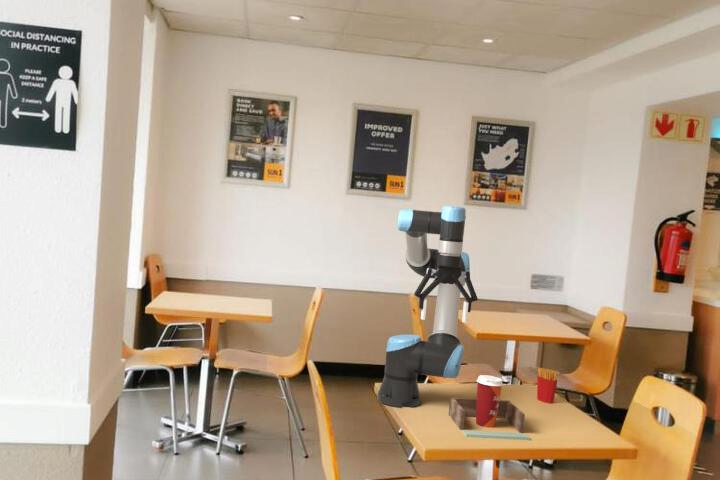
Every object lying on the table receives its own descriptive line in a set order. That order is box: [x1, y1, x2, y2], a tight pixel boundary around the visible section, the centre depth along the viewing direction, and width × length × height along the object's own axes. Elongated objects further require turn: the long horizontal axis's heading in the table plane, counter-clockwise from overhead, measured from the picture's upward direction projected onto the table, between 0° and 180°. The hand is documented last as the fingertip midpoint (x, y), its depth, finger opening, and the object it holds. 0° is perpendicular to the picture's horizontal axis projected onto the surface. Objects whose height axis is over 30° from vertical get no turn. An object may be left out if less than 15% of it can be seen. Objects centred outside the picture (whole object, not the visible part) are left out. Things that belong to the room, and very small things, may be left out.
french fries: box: [536, 367, 558, 404], centre depth 233 cm, size 8×4×12 cm, turn 32°
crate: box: [448, 396, 525, 434], centre depth 195 cm, size 14×20×7 cm
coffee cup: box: [475, 374, 504, 429], centre depth 195 cm, size 8×8×15 cm
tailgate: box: [460, 429, 531, 441], centre depth 185 cm, size 1×20×6 cm
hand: (443, 320), depth 196 cm, fingers open, 13 cm apart
